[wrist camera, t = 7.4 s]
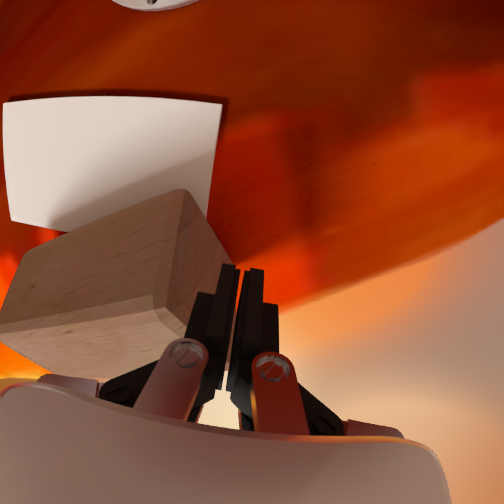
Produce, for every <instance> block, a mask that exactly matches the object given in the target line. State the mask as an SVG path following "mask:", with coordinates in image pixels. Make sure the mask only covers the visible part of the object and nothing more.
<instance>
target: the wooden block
mask: <svg viewBox="0 0 504 504" xmlns="http://www.w3.org/2000/svg"><path fill="white" fill-rule="evenodd" d="M222 263H226V264H232V265H234V264H233V262H232V261H231V259H230V258H229V256H228V254H227V253H226V251H225V249H224V248H223V246H222V244H221V243H220V241H219V239H218V238H217V236H216V235H215V233H214V231H213V230H212V228H211V226H210V225H209V223H208V221H207V220H206V218H205V216H204V215H203V213H202V211H201V210H200V208H199V206H198V205H197V203H196V201H195V200H194V198H193V196H192V195H191V193H190V192H189V191H187V190H186V189H175V190H172V191H170V192H167V193H164V194H161V195H159V196H156V197H153V198H150V199H148V200H145V201H142V202H140V203H137V204H135V205H132V206H130V207H127V208H124V209H122V210H119V211H117V212H114V213H112V214H110V215H107V216H105V217H102V218H100V219H97V220H95V221H93V222H90V223H88V224H86V225H83V226H81V227H79V228H77V229H74V230H72V231H70V232H68V233H65V234H63V235H61V236H59V237H57V238H54V239H52V240H50V241H48V242H46V243H44V244H42V245H40V246H38V247H36V248H33V249H31V250H29V251H28V252H27V253H25V254H24V255H23V258H22V260H21V262H20V264H19V266H18V268H17V271H16V273H15V275H14V278H13V280H12V282H11V285H10V287H9V290H8V292H7V295H6V297H5V300H4V303H3V305H2V308H1V311H0V342H2V343H3V344H5V345H7V346H8V347H10V348H11V349H13V350H14V351H16V352H18V353H19V354H21V355H22V356H24V357H26V358H27V359H29V360H31V361H33V362H34V363H36V364H38V365H39V366H41V367H43V368H45V369H47V370H49V371H50V372H52V373H54V374H56V375H63V376H70V377H78V378H115V377H118V376H120V375H123V374H125V373H128V372H130V371H132V370H135V369H137V368H140V367H142V366H144V365H147V364H149V363H151V362H154V361H156V360H158V359H160V357H161V356H162V354H163V352H164V350H165V348H166V347H167V346H168V344H169V343H171V342H172V341H174V340H177V339H180V338H184V335H185V331H186V328H187V325H188V322H189V318H190V315H191V312H192V309H193V305H194V302H195V299H196V296H197V293H198V291H199V292H205V293H210V294H215V292H216V287H217V283H218V279H219V275H220V271H221V267H222ZM235 320H236V303H235V310H234V317H233V323H232V330H231V337H230V343H229V349H228V354H227V360H226V365H225V371H227V370H229V362H230V355H231V348H232V340H233V333H234V326H235Z"/></svg>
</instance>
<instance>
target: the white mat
mask: <svg viewBox="0 0 504 504" xmlns="http://www.w3.org/2000/svg"><path fill="white" fill-rule="evenodd" d="M222 108H223V104H216V103H209V102H200V101H191V100H181V99H169V98H155V97H134V96H76V97H56V98H43V99H32V100H23V101H14V102H7V103H3V149H4V166H5V177H6V186H7V195H8V202H9V209H10V215H11V220H12V221H16V222H21V223H26V224H30V225H35V226H40V227H45V228H49V229H54V230H59V231H64V232H70V231H72V230H74V229H77V228H79V227H81V226H83V225H86V224H88V223H90V222H93V221H95V220H97V219H100V218H102V217H105V216H107V215H110V214H112V213H114V212H117V211H119V210H122V209H124V208H127V207H130V206H132V205H135V204H137V203H140V202H142V201H145V200H148V199H150V198H153V197H156V196H159V195H161V194H164V193H167V192H170V191H172V190H175V189H186V190H187V191H189V192H190V193H191V195H192V196H193V198H194V200H195V201H196V203H197V205H198V206H199V208H200V210H201V211H202V213H203V215H204V216H205V218H206V217H207V209H208V201H209V194H210V186H211V179H212V172H213V165H214V158H215V151H216V145H217V138H218V132H219V126H220V120H221V114H222Z"/></svg>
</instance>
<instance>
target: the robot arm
mask: <svg viewBox="0 0 504 504" xmlns="http://www.w3.org/2000/svg"><path fill="white" fill-rule="evenodd" d="M112 1H114V2H116V3H118V4H120V5H122V6H125V7H128V8H130V9H135V10H141V11H162V10H169V9H175V8H178V7H182V6H186V5H189V4H192V3H194V2H197V1H199V0H157V2H156V3H155V4H154V1H156V0H112ZM235 267H236V265H232V264H226V263H222V267H221V271H220V275H219V279H218V283H217V287H216V292H215V294H210V293H205V292H199V291H198V293H197V296H196V299H195V302H194V305H193V309H192V312H191V315H190V318H189V322H188V325H187V328H186V331H185V335H184V338H180V339H177V340H174V341H172V342H171V343H169V344H168V346H167V347H166V348H165V350H164V352H163V354H162V356H161V357H160V359H158V360H156V361H154V362H151V363H149V364H147V365H144V366H142V367H140V368H137V369H135V370H132V371H130V372H128V373H125V374H123V375H120V376H118V377H115V378H113V379H111V380H109V381H107V382H105V383H99V382H98V380H95V379H86V378H78V377H70V376H63V375H56V374H46V375H43V376H41V377H40V378H39V379H38V380H37V381H36V382H22V383H15V384H12V385H9V386H7V387H6V388H4V389H3V390H2V391H1V392H0V504H452V503H451V498H450V493H449V488H448V484H447V480H446V477H445V473H444V471H443V468H442V465H441V463H440V461H439V459H438V457H437V455H436V454H435V453H434V452H433V450H431V449H430V448H429V447H427V446H425V445H423V444H421V443H418V442H415V441H412V440H408V439H404V437H403V435H402V433H401V432H399V431H398V430H397V429H395V428H392V427H386V426H380V425H375V424H370V423H364V422H359V421H355V420H350V419H348V420H347V421H342V420H341V419H340V418H339V417H338V416H337V415H336V414H335V413H334V412H332V411H331V410H330V409H329V408H327V407H326V406H325V405H324V404H323V403H321V402H320V401H319V400H318V399H317V398H316V397H314V396H313V395H312V394H311V393H310V392H309V391H307V390H306V389H305V388H304V387H302V386H301V385H300V384H299V383H298V382H297V377H296V373H295V369H294V366H293V364H292V362H291V361H290V360H289V359H288V358H287V357H285V356H284V355H282V354H279V321H278V320H279V317H278V305H277V304H271V303H264V302H263V285H264V270H261V269H255V268H250V271H245V272H244V277H243V282H242V287H241V293H240V298H239V304H238V309H237V314H236V320H235V326H234V333H233V340H232V348H231V355H230V362H229V370H228V377H227V385H226V391H230V392H231V396H230V399H231V401H232V402H233V404H235V405H236V407H237V408H238V409H239V410H238V417H239V430H237V429H229V428H223V427H216V426H210V425H204V424H199V423H198V420H199V417H200V415H201V412H202V409H203V405H204V404H205V403H206V402H208V401H210V400H212V399H213V398H214V395H215V389H218V390H221V388H222V382H223V376H224V371H225V365H226V360H227V354H228V349H229V343H230V337H231V330H232V323H233V317H234V310H235V303H236V296H237V290H238V283H239V276H240V269H235Z"/></svg>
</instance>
